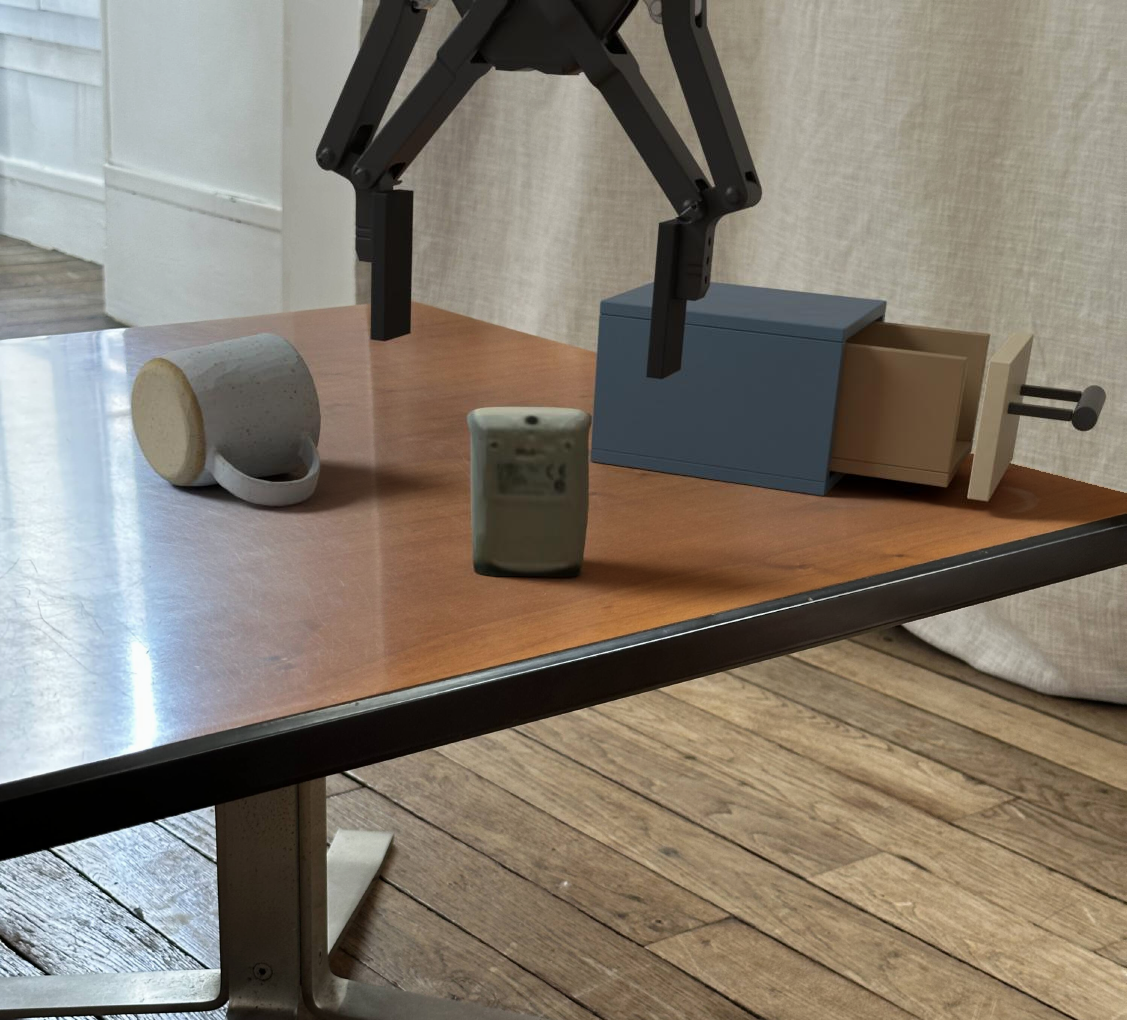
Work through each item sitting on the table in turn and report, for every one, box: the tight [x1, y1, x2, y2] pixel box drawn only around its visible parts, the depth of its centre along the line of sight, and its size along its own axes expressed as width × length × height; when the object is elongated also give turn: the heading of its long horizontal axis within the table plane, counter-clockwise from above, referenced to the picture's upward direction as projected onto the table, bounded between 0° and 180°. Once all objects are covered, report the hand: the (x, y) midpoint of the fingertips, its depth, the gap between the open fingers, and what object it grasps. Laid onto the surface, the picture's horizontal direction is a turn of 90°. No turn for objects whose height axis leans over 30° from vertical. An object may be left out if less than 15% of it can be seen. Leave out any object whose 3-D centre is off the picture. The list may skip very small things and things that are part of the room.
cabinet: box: [589, 281, 888, 497], centre depth 99 cm, size 15×13×10 cm
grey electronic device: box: [466, 406, 593, 578], centre depth 75 cm, size 6×5×8 cm
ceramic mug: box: [130, 332, 322, 507], centre depth 87 cm, size 11×8×8 cm
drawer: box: [830, 321, 1107, 502], centre depth 95 cm, size 18×11×8 cm, turn 69°
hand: (523, 355), depth 73 cm, fingers open, 13 cm apart
